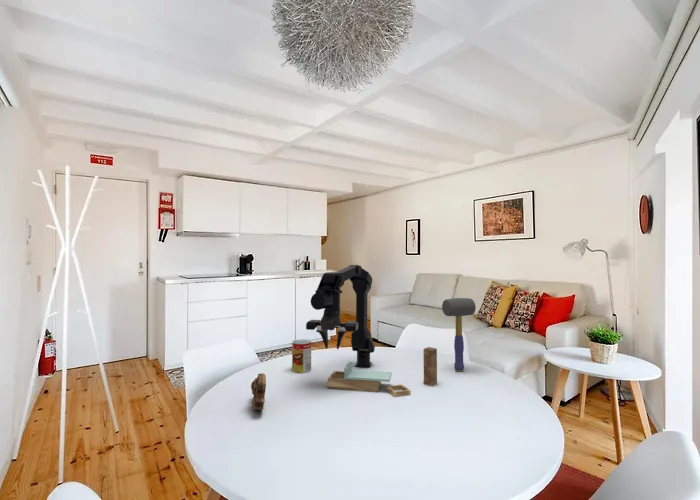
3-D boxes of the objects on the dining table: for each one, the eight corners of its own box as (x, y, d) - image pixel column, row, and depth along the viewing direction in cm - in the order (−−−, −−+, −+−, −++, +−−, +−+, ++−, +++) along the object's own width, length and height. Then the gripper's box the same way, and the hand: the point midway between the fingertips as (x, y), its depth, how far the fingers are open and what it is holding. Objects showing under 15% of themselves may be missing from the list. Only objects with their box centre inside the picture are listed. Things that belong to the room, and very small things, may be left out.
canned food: (299, 366, 153) (299, 338, 154) (314, 369, 150) (314, 340, 150) (288, 371, 146) (288, 342, 147) (304, 374, 143) (304, 344, 143)
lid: (349, 371, 135) (349, 361, 135) (391, 374, 132) (391, 363, 132) (344, 379, 126) (344, 368, 127) (389, 382, 123) (389, 370, 123)
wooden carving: (248, 399, 118) (248, 368, 118) (262, 397, 120) (262, 367, 120) (253, 420, 103) (253, 385, 103) (269, 417, 104) (269, 383, 105)
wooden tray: (333, 380, 136) (333, 370, 136) (380, 383, 133) (380, 373, 133) (327, 388, 127) (327, 378, 127) (377, 392, 124) (377, 382, 124)
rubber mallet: (466, 366, 153) (466, 296, 153) (477, 372, 146) (477, 298, 146) (441, 369, 149) (440, 297, 150) (451, 375, 142) (450, 299, 143)
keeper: (386, 390, 125) (386, 386, 125) (402, 388, 127) (402, 384, 127) (394, 397, 120) (394, 392, 120) (410, 394, 121) (410, 390, 122)
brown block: (423, 384, 132) (423, 348, 132) (428, 381, 134) (428, 346, 135) (432, 386, 129) (431, 350, 130) (437, 383, 132) (436, 348, 132)
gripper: (301, 308, 126) (300, 353, 126) (352, 310, 123) (352, 356, 122) (310, 304, 137) (310, 345, 137) (358, 306, 134) (358, 348, 133)
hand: (332, 348), depth 132 cm, fingers open, 4 cm apart
